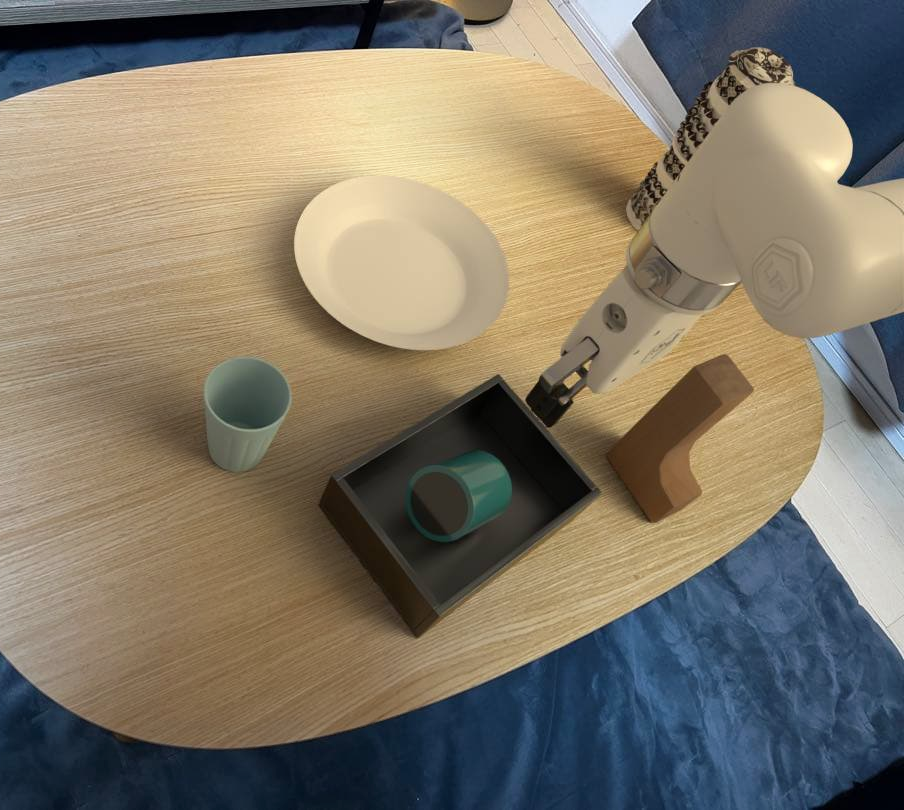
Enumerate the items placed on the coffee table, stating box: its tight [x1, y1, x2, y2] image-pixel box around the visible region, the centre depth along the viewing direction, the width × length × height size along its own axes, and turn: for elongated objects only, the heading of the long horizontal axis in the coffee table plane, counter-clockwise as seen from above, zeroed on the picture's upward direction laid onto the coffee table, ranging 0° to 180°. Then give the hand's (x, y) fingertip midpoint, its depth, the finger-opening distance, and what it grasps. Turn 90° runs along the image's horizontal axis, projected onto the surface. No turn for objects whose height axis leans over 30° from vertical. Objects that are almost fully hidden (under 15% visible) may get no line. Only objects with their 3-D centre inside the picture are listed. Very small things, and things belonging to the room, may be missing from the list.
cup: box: [202, 355, 293, 473], centre depth 78 cm, size 8×8×10 cm
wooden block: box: [605, 353, 755, 524], centre depth 84 cm, size 9×4×18 cm, turn 28°
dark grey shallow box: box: [317, 373, 603, 639], centre depth 81 cm, size 16×22×7 cm
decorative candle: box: [625, 46, 796, 232], centre depth 103 cm, size 9×9×25 cm
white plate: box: [293, 175, 510, 351], centre depth 97 cm, size 25×25×4 cm
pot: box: [405, 450, 512, 542], centre depth 79 cm, size 7×7×8 cm
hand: (578, 389), depth 72 cm, fingers open, 9 cm apart
